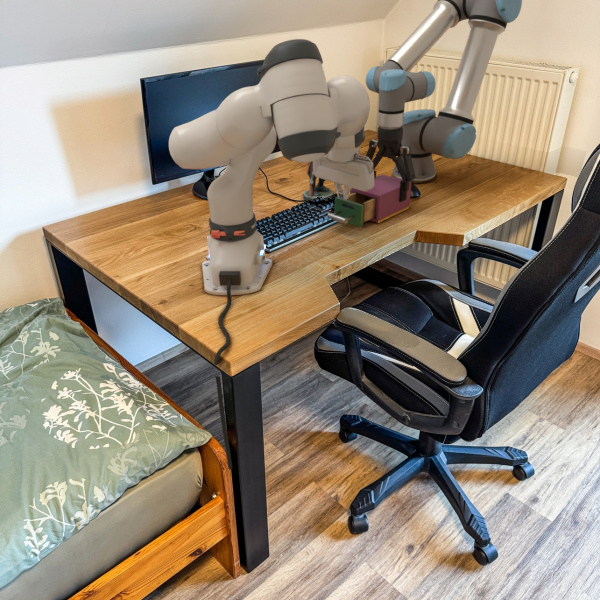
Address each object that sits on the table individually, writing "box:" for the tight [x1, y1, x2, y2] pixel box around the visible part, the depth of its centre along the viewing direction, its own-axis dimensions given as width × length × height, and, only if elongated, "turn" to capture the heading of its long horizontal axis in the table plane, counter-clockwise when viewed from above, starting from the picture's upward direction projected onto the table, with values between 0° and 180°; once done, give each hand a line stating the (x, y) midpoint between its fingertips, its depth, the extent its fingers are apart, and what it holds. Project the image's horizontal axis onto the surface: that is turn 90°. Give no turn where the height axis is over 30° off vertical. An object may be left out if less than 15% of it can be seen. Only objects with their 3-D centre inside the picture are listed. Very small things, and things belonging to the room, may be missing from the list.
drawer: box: [326, 192, 377, 228], centre depth 169 cm, size 20×10×7 cm, turn 136°
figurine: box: [302, 161, 335, 202], centre depth 181 cm, size 11×11×30 cm
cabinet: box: [349, 173, 413, 224], centre depth 176 cm, size 16×11×9 cm
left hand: (343, 198), depth 162 cm, fingers closed
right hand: (386, 196), depth 178 cm, fingers closed on cabinet, 11 cm apart
